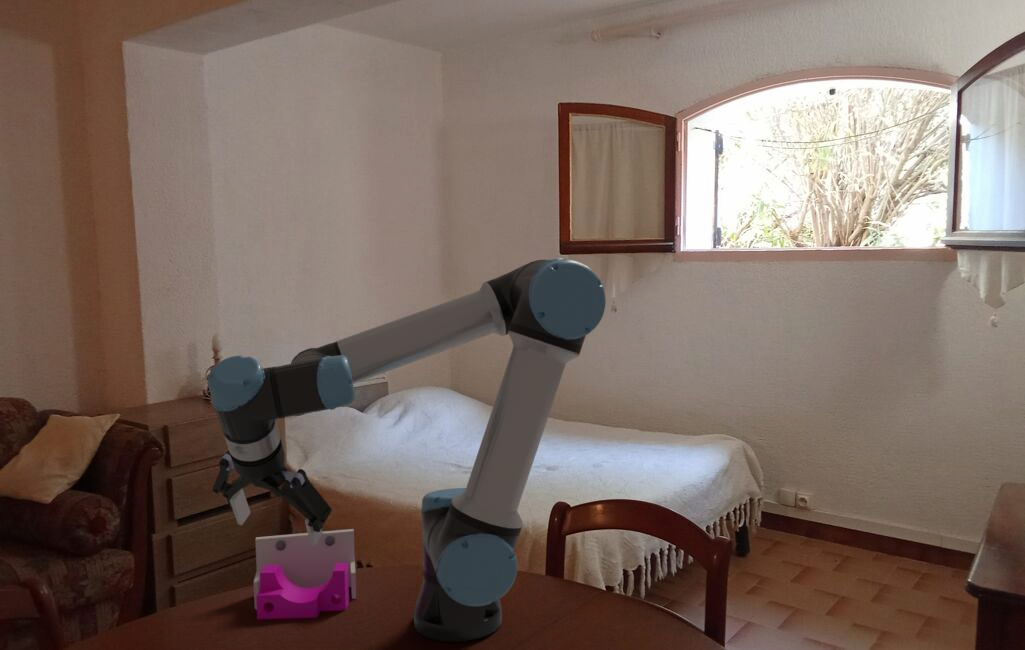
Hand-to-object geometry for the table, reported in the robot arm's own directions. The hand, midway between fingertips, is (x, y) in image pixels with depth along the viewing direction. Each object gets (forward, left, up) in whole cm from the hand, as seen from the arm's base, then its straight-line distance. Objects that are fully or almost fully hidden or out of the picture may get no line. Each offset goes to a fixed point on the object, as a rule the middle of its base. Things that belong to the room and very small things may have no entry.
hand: (280, 528), depth 131 cm
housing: (+14, -3, -18) cm, 23 cm away
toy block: (+8, -3, -18) cm, 20 cm away
